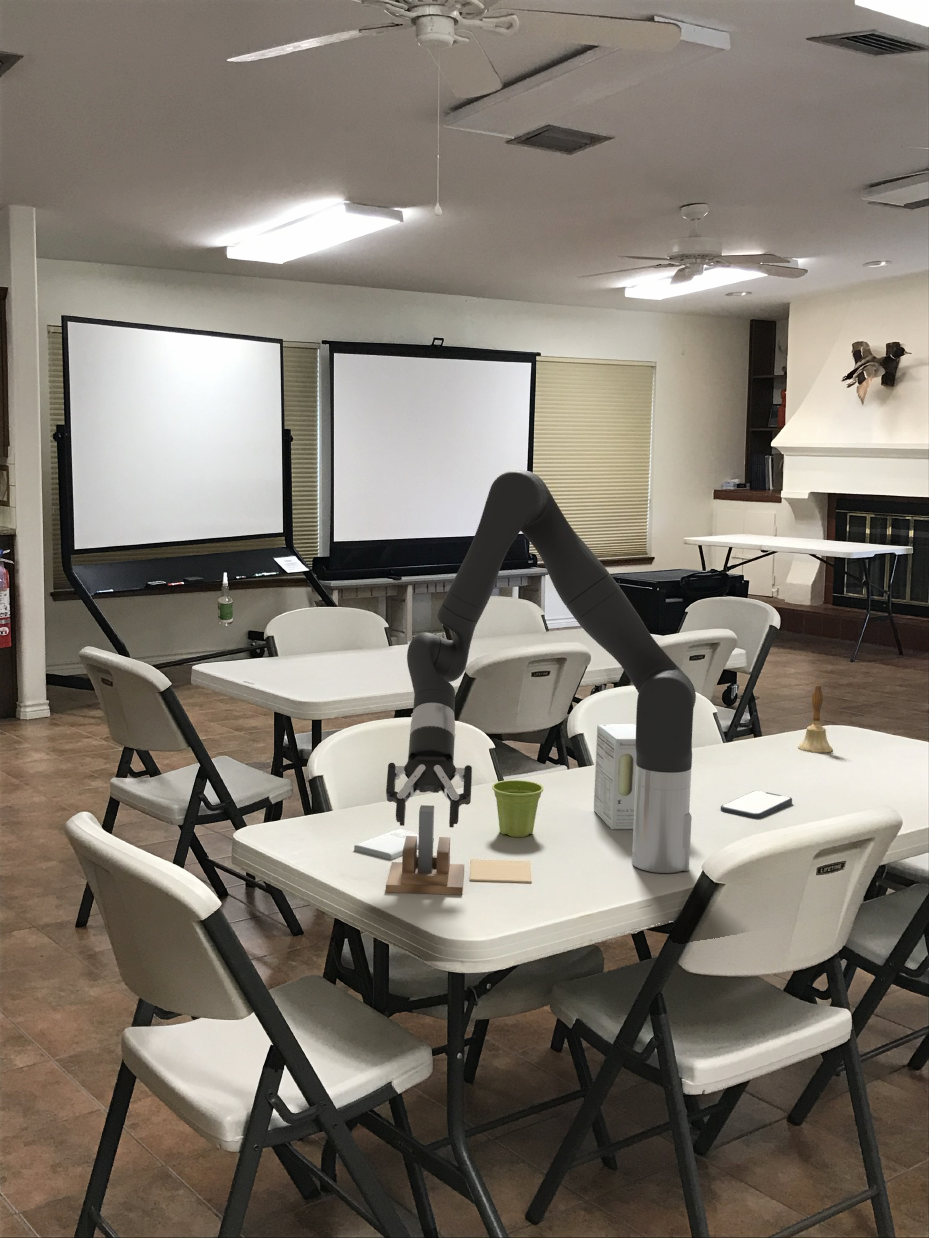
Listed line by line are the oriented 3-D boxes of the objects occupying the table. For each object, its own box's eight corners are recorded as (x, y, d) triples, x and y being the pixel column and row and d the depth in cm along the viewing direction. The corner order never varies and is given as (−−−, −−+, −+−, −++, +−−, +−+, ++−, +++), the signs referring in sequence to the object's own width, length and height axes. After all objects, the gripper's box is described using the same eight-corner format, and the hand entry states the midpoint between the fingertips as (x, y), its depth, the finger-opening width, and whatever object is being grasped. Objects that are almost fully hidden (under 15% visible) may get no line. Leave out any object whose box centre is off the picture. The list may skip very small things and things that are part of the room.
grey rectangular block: (432, 868, 194) (434, 805, 193) (431, 876, 190) (433, 811, 189) (419, 868, 194) (420, 805, 193) (417, 875, 190) (419, 811, 189)
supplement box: (610, 830, 222) (614, 738, 220) (592, 810, 235) (595, 723, 233) (679, 828, 224) (683, 737, 222) (657, 809, 237) (661, 722, 235)
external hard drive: (353, 853, 206) (397, 836, 217) (391, 863, 202) (434, 845, 212) (354, 844, 206) (397, 827, 217) (391, 853, 202) (434, 836, 212)
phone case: (758, 822, 231) (794, 805, 243) (758, 814, 231) (794, 797, 243) (717, 813, 237) (754, 796, 249) (717, 805, 237) (755, 789, 249)
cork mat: (529, 862, 202) (529, 861, 202) (531, 882, 192) (531, 880, 192) (470, 860, 202) (471, 859, 202) (469, 880, 192) (469, 878, 192)
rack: (464, 871, 197) (465, 834, 196) (462, 894, 186) (463, 856, 185) (391, 868, 197) (392, 832, 196) (385, 892, 186) (386, 853, 185)
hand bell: (799, 751, 290) (803, 687, 288) (796, 744, 298) (799, 681, 296) (835, 754, 289) (839, 689, 287) (830, 746, 297) (834, 683, 295)
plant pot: (547, 839, 215) (548, 792, 214) (496, 841, 214) (497, 793, 212) (535, 824, 224) (537, 779, 223) (486, 825, 223) (487, 780, 222)
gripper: (388, 722, 196) (380, 811, 186) (475, 725, 196) (472, 814, 186) (390, 747, 202) (383, 834, 192) (475, 749, 202) (471, 837, 192)
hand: (426, 824), depth 189 cm, fingers open, 7 cm apart
